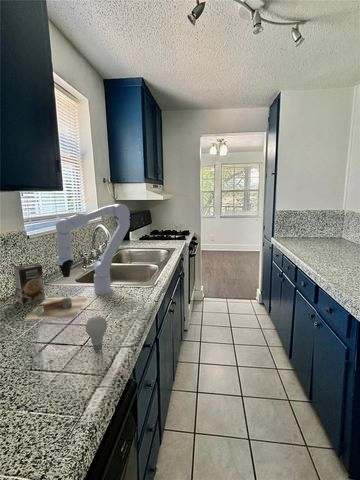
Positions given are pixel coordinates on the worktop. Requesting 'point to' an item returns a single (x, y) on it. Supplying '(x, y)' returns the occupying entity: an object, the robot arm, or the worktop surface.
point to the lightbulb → (96, 331)
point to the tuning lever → (57, 304)
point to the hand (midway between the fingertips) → (66, 276)
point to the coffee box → (29, 283)
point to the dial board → (60, 312)
